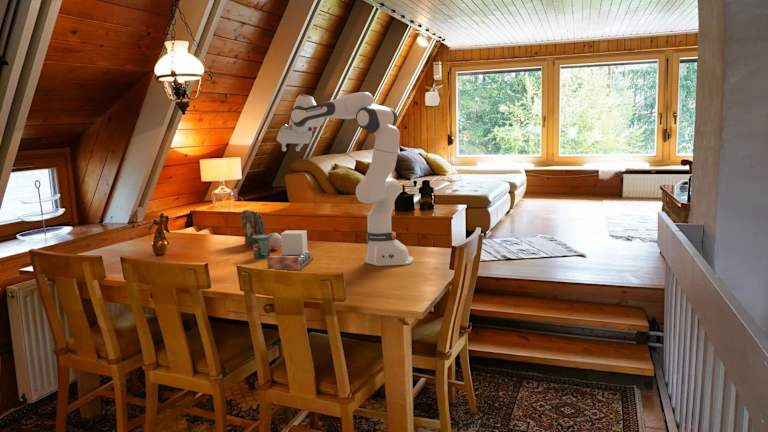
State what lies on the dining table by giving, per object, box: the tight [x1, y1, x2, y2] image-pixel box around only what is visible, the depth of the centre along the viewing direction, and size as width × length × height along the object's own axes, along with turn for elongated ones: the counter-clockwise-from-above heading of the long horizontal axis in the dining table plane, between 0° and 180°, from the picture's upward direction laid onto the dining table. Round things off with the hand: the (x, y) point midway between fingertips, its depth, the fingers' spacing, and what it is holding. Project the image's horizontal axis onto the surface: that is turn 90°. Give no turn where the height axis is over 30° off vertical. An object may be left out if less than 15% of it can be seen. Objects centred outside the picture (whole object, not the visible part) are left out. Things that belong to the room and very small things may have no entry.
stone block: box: [240, 209, 266, 248], centre depth 317 cm, size 18×9×20 cm, turn 48°
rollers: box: [281, 251, 312, 265], centre depth 270 cm, size 12×21×3 cm, turn 172°
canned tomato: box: [252, 234, 271, 261], centre depth 287 cm, size 8×8×11 cm
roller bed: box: [266, 255, 314, 272], centre depth 268 cm, size 14×26×7 cm, turn 172°
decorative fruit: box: [268, 231, 282, 251], centre depth 306 cm, size 9×8×10 cm
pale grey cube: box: [280, 229, 309, 256], centre depth 274 cm, size 10×8×10 cm
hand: (290, 150), depth 299 cm, fingers open, 8 cm apart
